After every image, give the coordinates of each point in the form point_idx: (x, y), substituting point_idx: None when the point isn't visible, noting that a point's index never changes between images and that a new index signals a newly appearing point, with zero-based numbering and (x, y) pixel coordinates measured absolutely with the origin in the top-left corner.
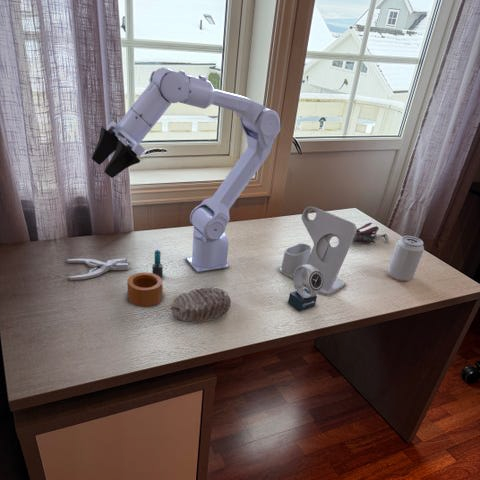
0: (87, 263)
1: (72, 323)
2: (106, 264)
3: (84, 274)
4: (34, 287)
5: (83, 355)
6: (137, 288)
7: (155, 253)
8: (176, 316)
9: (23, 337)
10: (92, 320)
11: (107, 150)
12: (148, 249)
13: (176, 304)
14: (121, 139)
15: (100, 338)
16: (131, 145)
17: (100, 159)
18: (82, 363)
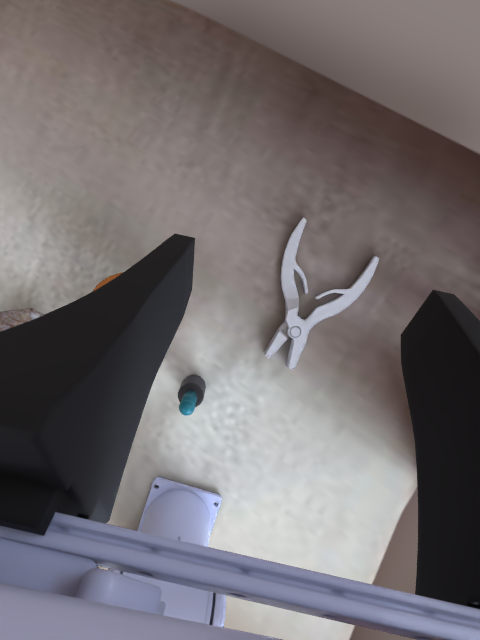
0: (339, 289)
1: (146, 133)
2: (294, 313)
3: (294, 252)
4: (318, 141)
5: (38, 92)
6: (110, 279)
7: (186, 400)
8: (18, 309)
9: (160, 31)
10: (131, 171)
11: (439, 432)
12: (318, 451)
13: (10, 316)
14: (319, 589)
15: (67, 149)
16: (21, 555)
17: (415, 351)
18: (18, 77)
